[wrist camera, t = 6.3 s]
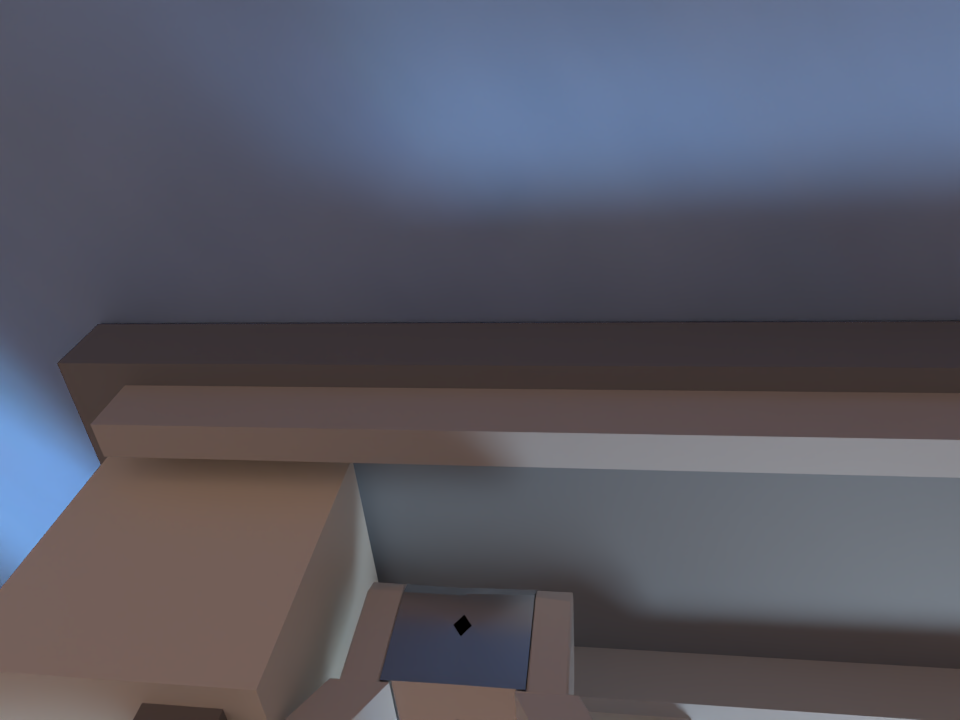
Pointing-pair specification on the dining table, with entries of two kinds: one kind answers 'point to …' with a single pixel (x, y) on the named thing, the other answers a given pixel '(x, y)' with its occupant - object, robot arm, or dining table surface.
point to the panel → (615, 485)
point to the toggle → (187, 593)
